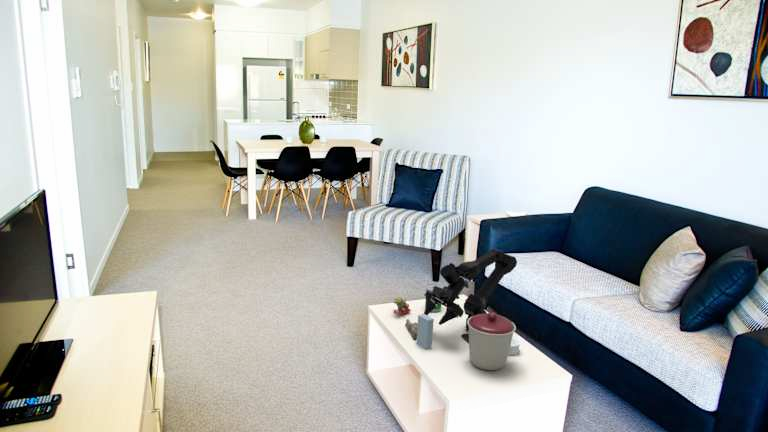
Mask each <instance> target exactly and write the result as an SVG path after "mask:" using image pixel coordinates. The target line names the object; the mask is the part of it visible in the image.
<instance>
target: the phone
mask: <svg viewBox="0 0 768 432" xmlns="http://www.w3.org/2000/svg"><path fill="white" fill-rule="evenodd" d="M460 337H461V338H462V339H463V340H464V341H465V342H466V343H467V344H468V345H469V332H467V333H462V334H461V335H460Z"/></svg>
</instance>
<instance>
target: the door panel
mask: <svg viewBox="0 0 768 432" xmlns="http://www.w3.org/2000/svg"><path fill="white" fill-rule="evenodd" d="M434 321H435V320H434V318H432V317H431V316H429V315H425V314H424V313H422V314H419V315H418V316H417V323H418V326H417V340H415V341H416V342H415V343H416V345H417V346H419V347H421V348H422V349H424V350H429V349H432V345H433V335H434V334H433V333H434V332H433V331H434Z"/></svg>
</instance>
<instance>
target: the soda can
mask: <svg viewBox="0 0 768 432" xmlns="http://www.w3.org/2000/svg"><path fill="white" fill-rule="evenodd" d="M434 286H437V287H440V288H442V289H443V287H442V286H441V285H440V284H438V283H429V284H428V285H427V286H426V289H425V293H426V292H427V291H431V292H432V291H433V288H434ZM435 295H436V294H435ZM436 296H437V295H436ZM437 297H438V296H437ZM438 298H439V297H438ZM426 304H427V300H426V299H425V304H424V305H425V307H424V309H425V308H426ZM441 309H442V305H441V304H439V303H438V304H436V307H435V308H434V309H433V310H432V311H431V312H430V313H439V312H440V311H441Z"/></svg>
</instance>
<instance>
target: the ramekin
mask: <svg viewBox="0 0 768 432" xmlns="http://www.w3.org/2000/svg"><path fill="white" fill-rule="evenodd" d="M520 345H521V342H520V340H518V339H517V338H515V337H512V341H511V345H510V349H509V353H508V356H515V355H517V354H518V353H519V348H520Z"/></svg>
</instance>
